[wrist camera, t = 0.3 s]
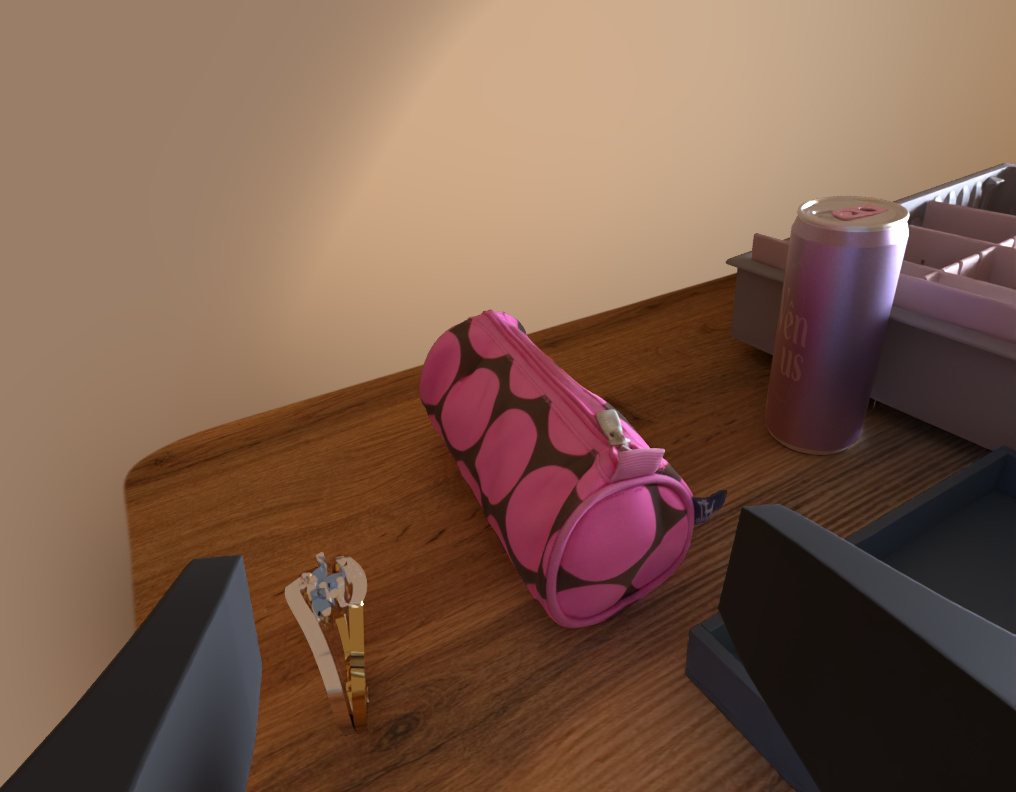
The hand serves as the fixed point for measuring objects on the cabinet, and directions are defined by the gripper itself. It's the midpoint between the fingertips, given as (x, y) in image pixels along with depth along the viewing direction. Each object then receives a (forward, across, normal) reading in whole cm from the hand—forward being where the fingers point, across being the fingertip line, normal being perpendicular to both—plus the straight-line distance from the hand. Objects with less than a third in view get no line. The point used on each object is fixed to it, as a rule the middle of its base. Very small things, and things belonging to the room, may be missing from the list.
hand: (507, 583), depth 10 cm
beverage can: (+27, -27, +15) cm, 41 cm away
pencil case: (+25, -8, +18) cm, 32 cm away
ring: (+14, +3, +20) cm, 25 cm away
